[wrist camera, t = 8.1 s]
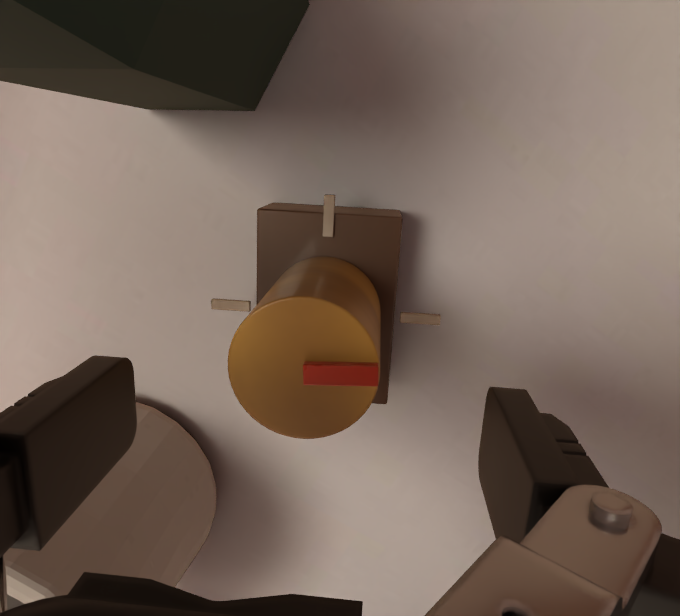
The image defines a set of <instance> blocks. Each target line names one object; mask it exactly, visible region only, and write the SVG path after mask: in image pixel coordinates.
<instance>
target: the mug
mask: <svg viewBox="0 0 680 616" xmlns="http://www.w3.org/2000/svg"><path fill="white" fill-rule="evenodd" d="M136 414H137V429H136V434H135V438H134V441H133V443H132V445H131V447H130V448H129V450H128V451H127V452H126V453H125V454H124V455H123V457H122V458H121V459H120V460H119V461H118V462H117V463H116V465H115V466H114V467H113V468H112V469H111V470H110V471H109V473H108V474H107V475H106V476H105V477H104V478H103V479H102V481H101V482H100V483H99V484H98V485H97V486H96V488H95V489H94V490H93V491H92V492H91V493H90V494H89V496H88V497H87V498H86V499H85V500H84V501H83V502H82V504H81V505H80V506H79V507H78V508H77V509H76V510H75V512H74V513H73V514H72V515H71V516H70V517H69V518H68V520H67V521H66V522H65V523H64V524H63V525H62V526H61V528H60V529H59V530H58V531H57V532H56V533H55V534H54V536H53V537H52V538H51V539H50V540H49V541H48V542H47V544H46V545H45V546H44V547H43V548H42V549H41V550H40V551H35V550H25V549H15V548H9V549H8V550H7V551H6V553H5V554H4V555H3V556H4V562H5V568H6V584H7V606H8V610H9V609H12V608H15V607H17V606H20V605H23V604H26V603H30V602H33V601H37V600H41V599H45V598H50V597H55V596H60V595H68V593H69V592H70V590H71V589H72V588H73V586H74V585H75V584H76V582H77V581H78V579H79V578H80V577H81V575H82V574H83V573H84V572H91V573H100V574H110V575H119V576H128V577H138V578H147V579H152V580H155V581H158V582H161V583H163V584H166V585H169V586H172V587H174V588H175V586H176V585H177V583H178V582H179V580H180V579H181V577H182V576H183V574H184V573H185V571H186V570H187V568H188V567H189V565H190V564H191V562H192V561H193V559H194V558H195V556H196V555H197V553H198V552H199V550H200V549H201V547H202V545H203V544H204V542H205V540H206V539H207V537H208V535H209V532H210V528H211V525H212V522H213V519H214V515H215V511H216V483H215V480H214V477H213V473H212V470H211V467H210V463H209V461H208V460H207V458H206V456H205V455H204V453H203V452H202V450H201V448H200V447H199V445H198V444H197V442H196V440H194V439H193V438H192V437H191V436H190V435H189V434H188V433H187V432H186V431H185V430H184V429H183V428H182V427H181V426H180V425H179V424H178V423H177V422H176V421H174V420H173V419H171V418H169V417H168V416H166V415H164V414H163V413H161V412H160V411H158V410H156V409H155V408H153V407H150V406H147V405H144V404H141V403H138V402H136Z"/></svg>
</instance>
